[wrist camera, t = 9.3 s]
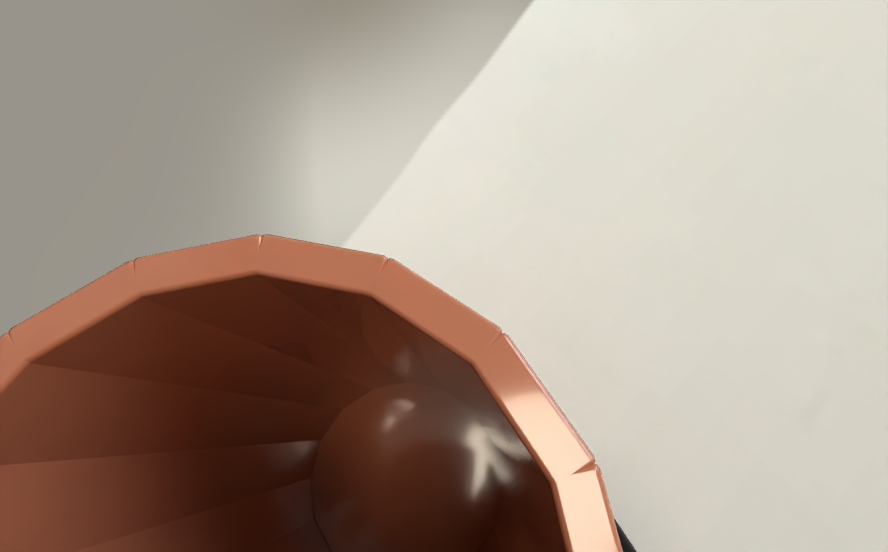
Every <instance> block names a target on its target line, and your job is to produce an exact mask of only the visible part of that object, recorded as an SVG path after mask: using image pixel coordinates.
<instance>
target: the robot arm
mask: <svg viewBox="0 0 888 552" xmlns="http://www.w3.org/2000/svg"><path fill="white" fill-rule="evenodd" d="M613 518H614V517H613ZM614 521H615V525H616V528H617V532H618V536H619V539H620V543H621V547H622V550H623V552H636V550H635V549H634V547H633V546H632V544H631V543H630V541H629V540H628V538H627V537H626V535H625V534H624V532H623V531H622V529H621V528H620V526H619V525H618V523H617V522H616V520H615V519H614Z"/></svg>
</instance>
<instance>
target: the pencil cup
mask: <svg viewBox="0 0 888 552" xmlns="http://www.w3.org/2000/svg"><path fill="white" fill-rule="evenodd" d="M594 463H595V458H594V455H593V454H592V452H591V451H590V450H589V448H588V447H587V445H586V444H585V443H584V441H583V440H582V438H581V437H580V436H579V434H578V433H577V431H576V430H575V429H574V427H573V426H572V424H571V423H570V422H569V420H568V419H567V417H566V416H565V415H564V413H563V412H562V410H561V409H560V407H559V406H558V405H557V403H556V402H555V400H554V399H553V398H552V396H551V395H550V393H549V392H548V391H547V389H546V388H545V386H544V385H543V384H542V382H541V381H540V379H539V378H538V377H537V375H536V374H535V372H534V371H533V370H532V368H531V367H530V365H529V364H528V362H527V361H526V360H525V358H524V357H523V355H522V354H521V353H520V351H519V350H518V348H517V347H516V346H515V344H514V343H513V341H512V340H511V339H510V337H509V336H508V335H507V334H505V333H502V330H501V328H500V327H499V326H497V325H495V324H494V323H492V322H491V321H489V320H488V319H486V318H485V317H483V316H481V315H480V314H478V313H477V312H475V311H474V310H472V309H471V308H469V307H467V306H466V305H464V304H463V303H461V302H460V301H458V300H457V299H455V298H453V297H452V296H450V295H449V294H447V293H446V292H444V291H443V290H441V289H439V288H438V287H436V286H435V285H433V284H432V283H430V282H429V281H427V280H425V279H424V278H422V277H421V276H419V275H418V274H416V273H415V272H413V271H411V270H410V269H408V268H407V267H405V266H404V265H402V264H401V263H399V262H397V261H396V260H394V259H391V258H389V259H388V258H387V257H386V256H384V255H379V254H373V253H368V252H362V251H357V250H351V249H346V248H340V247H334V246H329V245H323V244H318V243H312V242H307V241H301V240H296V239H290V238H285V237H279V236H274V235H267V234H266V235H263V236H262V235H252V236H247V237H242V238H237V239H231V240H226V241H221V242H216V243H211V244H206V245H200V246H195V247H190V248H185V249H180V250H175V251H170V252H164V253H159V254H154V255H149V256H144V257H139V258H136V259H135V260H134V261H128V262H126V263H124V264H123V265H121V266H119V267H117V268H115V269H114V270H112V271H110V272H108V273H107V274H105V275H103V276H102V277H100V278H98V279H96V280H95V281H93V282H91V283H90V284H88V285H86V286H84V287H82V288H81V289H79V290H77V291H75V292H74V293H72V294H70V295H69V296H67V297H65V298H63V299H61V300H60V301H58V302H56V303H54V304H53V305H51V306H49V307H47V308H46V309H44V310H42V311H40V312H39V313H37V314H35V315H33V316H32V317H30V318H28V319H26V320H25V321H23V322H21V323H19V324H18V325H16V326H14V327H12V328H11V329H10V330H9V333H6V334H4V335H2V336H1V337H0V552H623V550H622V547H621V543H620V539H619V536H618V532H617V528H616V525H615V521H614V518H613V514H612V510H611V507H610V503H609V499H608V496H607V492H606V488H605V485H604V481H603V477H602V474H601V470H600V468H599V466H598V465H597V464H594Z"/></svg>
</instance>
